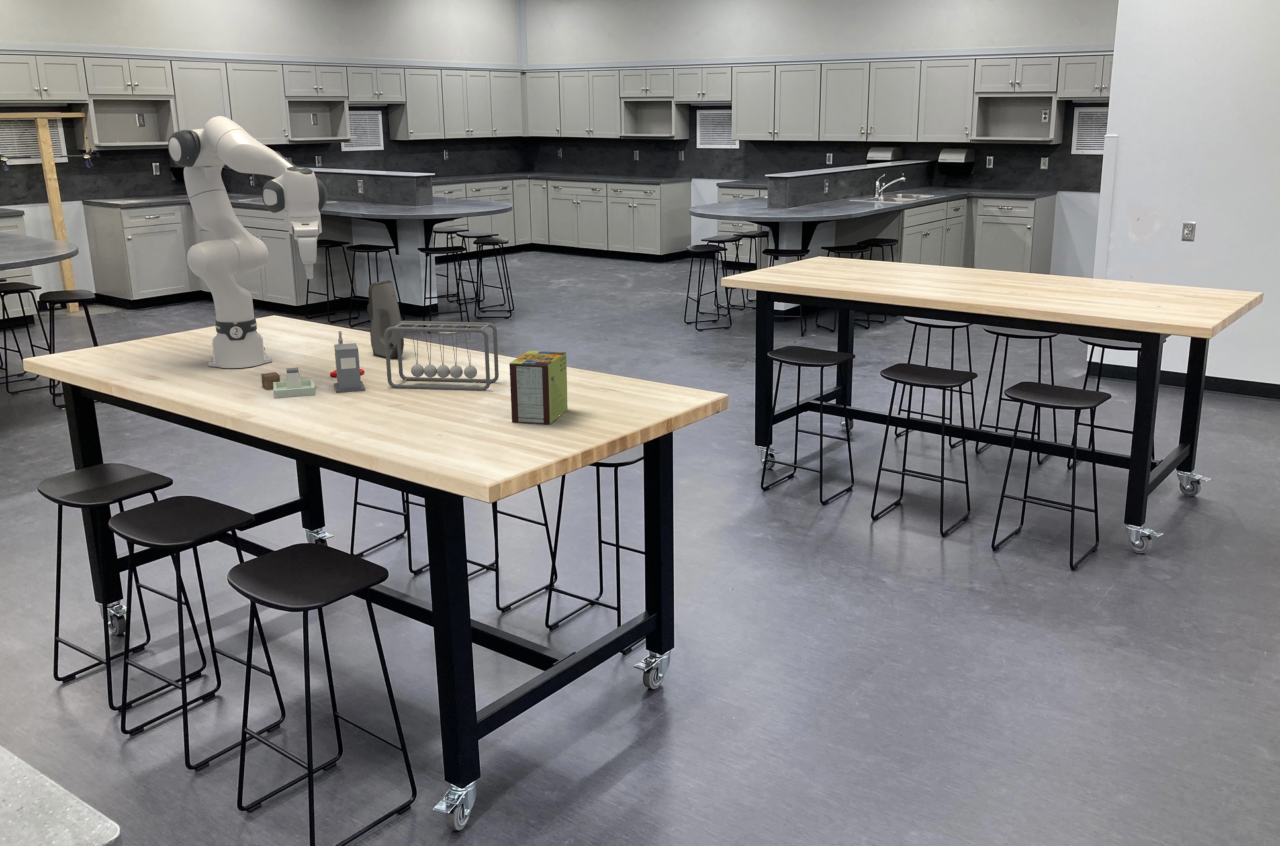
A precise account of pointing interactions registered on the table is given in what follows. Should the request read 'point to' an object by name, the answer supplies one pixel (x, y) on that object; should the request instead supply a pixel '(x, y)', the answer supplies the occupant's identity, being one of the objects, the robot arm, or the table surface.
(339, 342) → the tow hook
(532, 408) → the protein box
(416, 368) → the newton's cradle
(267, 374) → the walnut block
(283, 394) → the tray
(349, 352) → the control box
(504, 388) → the table surface
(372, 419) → the table surface
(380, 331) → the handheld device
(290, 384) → the block
